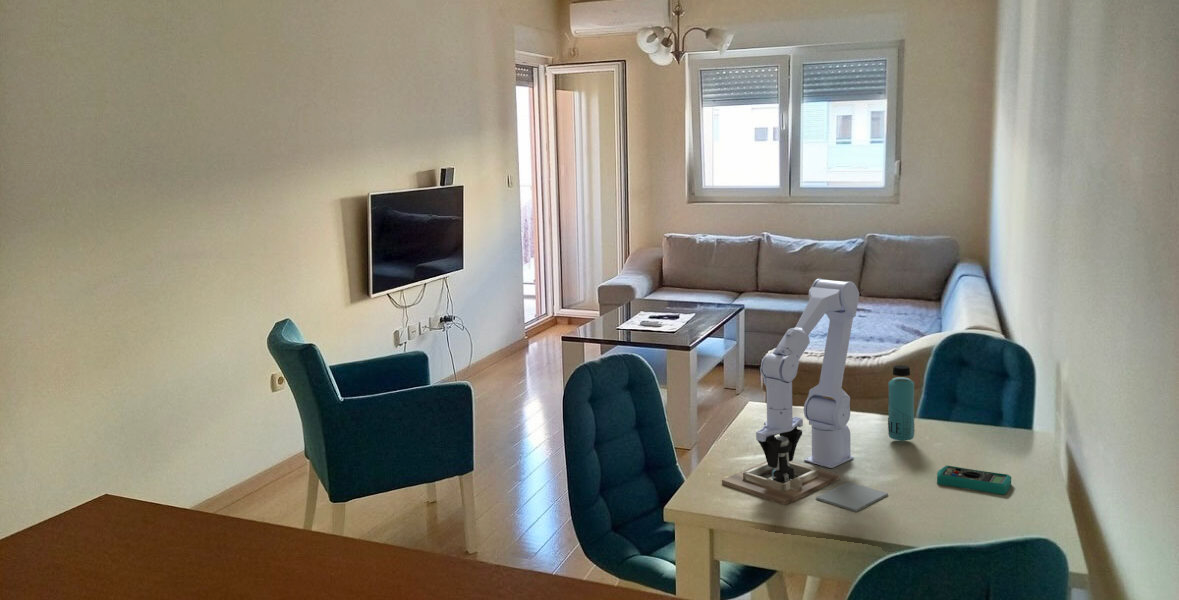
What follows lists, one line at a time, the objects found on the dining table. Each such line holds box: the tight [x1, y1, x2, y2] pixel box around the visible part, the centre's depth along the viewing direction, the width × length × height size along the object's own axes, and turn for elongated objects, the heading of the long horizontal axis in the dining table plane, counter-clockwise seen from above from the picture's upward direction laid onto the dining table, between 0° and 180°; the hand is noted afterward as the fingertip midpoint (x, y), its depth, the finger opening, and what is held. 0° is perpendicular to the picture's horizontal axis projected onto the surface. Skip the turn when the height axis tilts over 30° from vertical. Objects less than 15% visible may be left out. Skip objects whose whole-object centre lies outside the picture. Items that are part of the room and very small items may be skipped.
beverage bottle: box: [887, 364, 916, 442], centre depth 230 cm, size 6×7×20 cm
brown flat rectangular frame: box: [721, 460, 841, 506], centre depth 210 cm, size 20×18×3 cm
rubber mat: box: [816, 481, 889, 513], centre depth 199 cm, size 12×10×1 cm
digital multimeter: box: [936, 465, 1012, 496], centre depth 203 cm, size 7×15×3 cm, turn 55°
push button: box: [767, 435, 795, 483], centre depth 209 cm, size 7×5×10 cm
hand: (780, 463), depth 209 cm, fingers closed on push button, 5 cm apart
